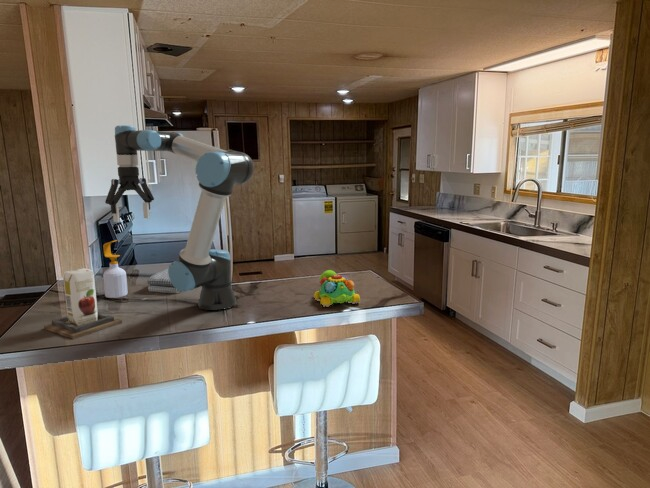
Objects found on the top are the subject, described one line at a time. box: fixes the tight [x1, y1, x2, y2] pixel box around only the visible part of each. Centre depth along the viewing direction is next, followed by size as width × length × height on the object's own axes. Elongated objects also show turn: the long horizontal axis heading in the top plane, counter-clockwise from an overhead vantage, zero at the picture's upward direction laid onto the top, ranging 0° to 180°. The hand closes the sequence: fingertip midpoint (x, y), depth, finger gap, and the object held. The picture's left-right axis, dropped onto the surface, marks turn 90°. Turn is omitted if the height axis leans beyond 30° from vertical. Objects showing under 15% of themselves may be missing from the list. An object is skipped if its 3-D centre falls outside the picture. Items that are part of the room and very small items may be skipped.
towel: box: [147, 267, 182, 294], centre depth 209 cm, size 15×18×8 cm
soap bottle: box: [102, 239, 128, 299], centre depth 196 cm, size 9×9×25 cm
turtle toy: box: [313, 269, 361, 305], centre depth 189 cm, size 17×23×12 cm
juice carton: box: [63, 267, 99, 326], centre depth 159 cm, size 8×9×19 cm
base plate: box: [43, 311, 123, 340], centre depth 161 cm, size 18×18×3 cm
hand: (132, 220), depth 181 cm, fingers open, 13 cm apart
